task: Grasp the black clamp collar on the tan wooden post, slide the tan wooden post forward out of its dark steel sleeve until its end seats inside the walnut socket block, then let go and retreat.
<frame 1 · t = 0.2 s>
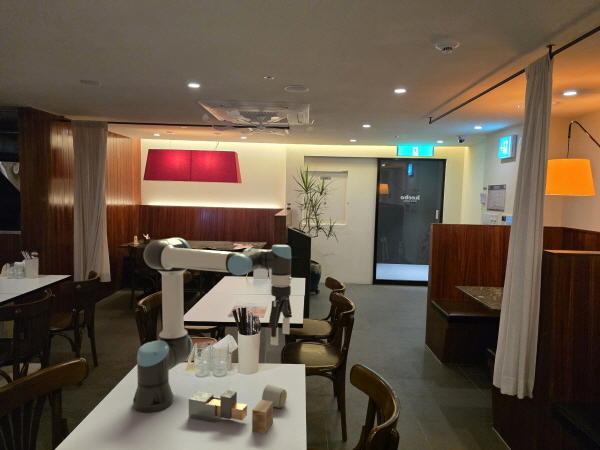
hand: (280, 339, 162), 27 cm above the table, fingers open, 13 cm apart
tan wooden post: (220, 402, 155), point 6 cm above the table, slide at 0.0 cm
ceramic mug: (275, 404, 167), on the table
sleeve: (206, 416, 156), on the table
socket: (262, 426, 150), on the table
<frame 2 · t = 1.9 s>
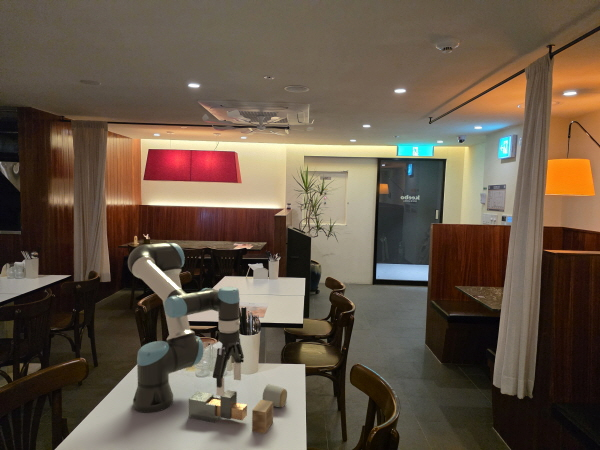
hand: (229, 387, 153), 13 cm above the table, fingers open, 13 cm apart
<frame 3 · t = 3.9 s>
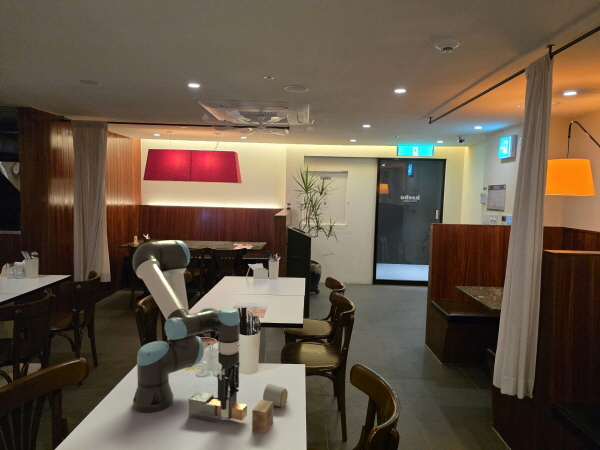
hand: (228, 412, 154), 3 cm above the table, fingers closed on tan wooden post, 5 cm apart
tan wooden post: (220, 402, 155), point 6 cm above the table, slide at 0.0 cm, touching gripper
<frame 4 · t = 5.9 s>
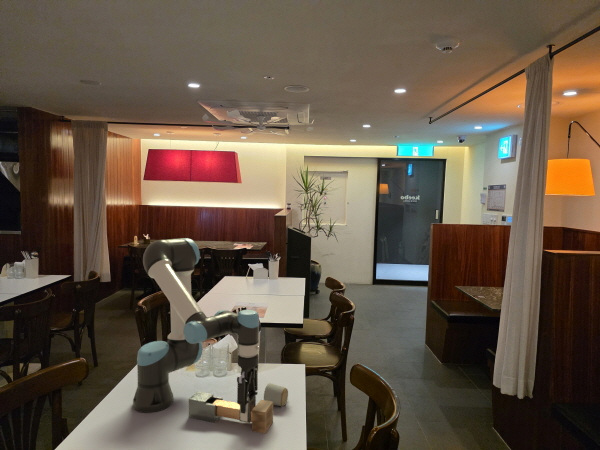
hand: (247, 416, 151), 3 cm above the table, fingers closed on tan wooden post, 5 cm apart
tan wooden post: (238, 406, 152), point 6 cm above the table, slide at 7.7 cm, touching gripper
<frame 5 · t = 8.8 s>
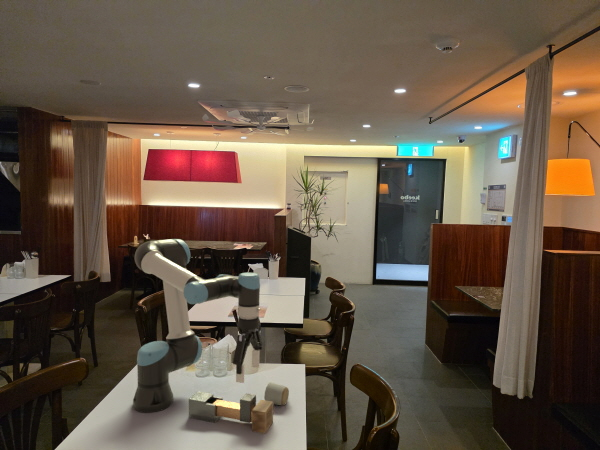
hand: (248, 374, 150), 18 cm above the table, fingers open, 13 cm apart
tan wooden post: (239, 406, 152), point 6 cm above the table, slide at 7.8 cm
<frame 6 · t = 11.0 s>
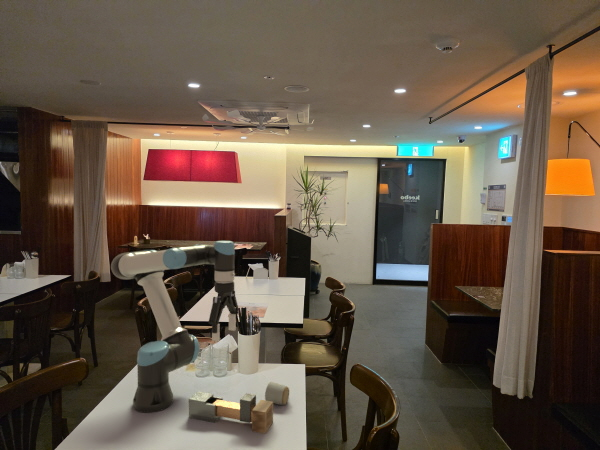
hand: (224, 335, 161), 29 cm above the table, fingers open, 13 cm apart
at the end: tan wooden post slide at 7.8 cm; the gripper is holding nothing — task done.
